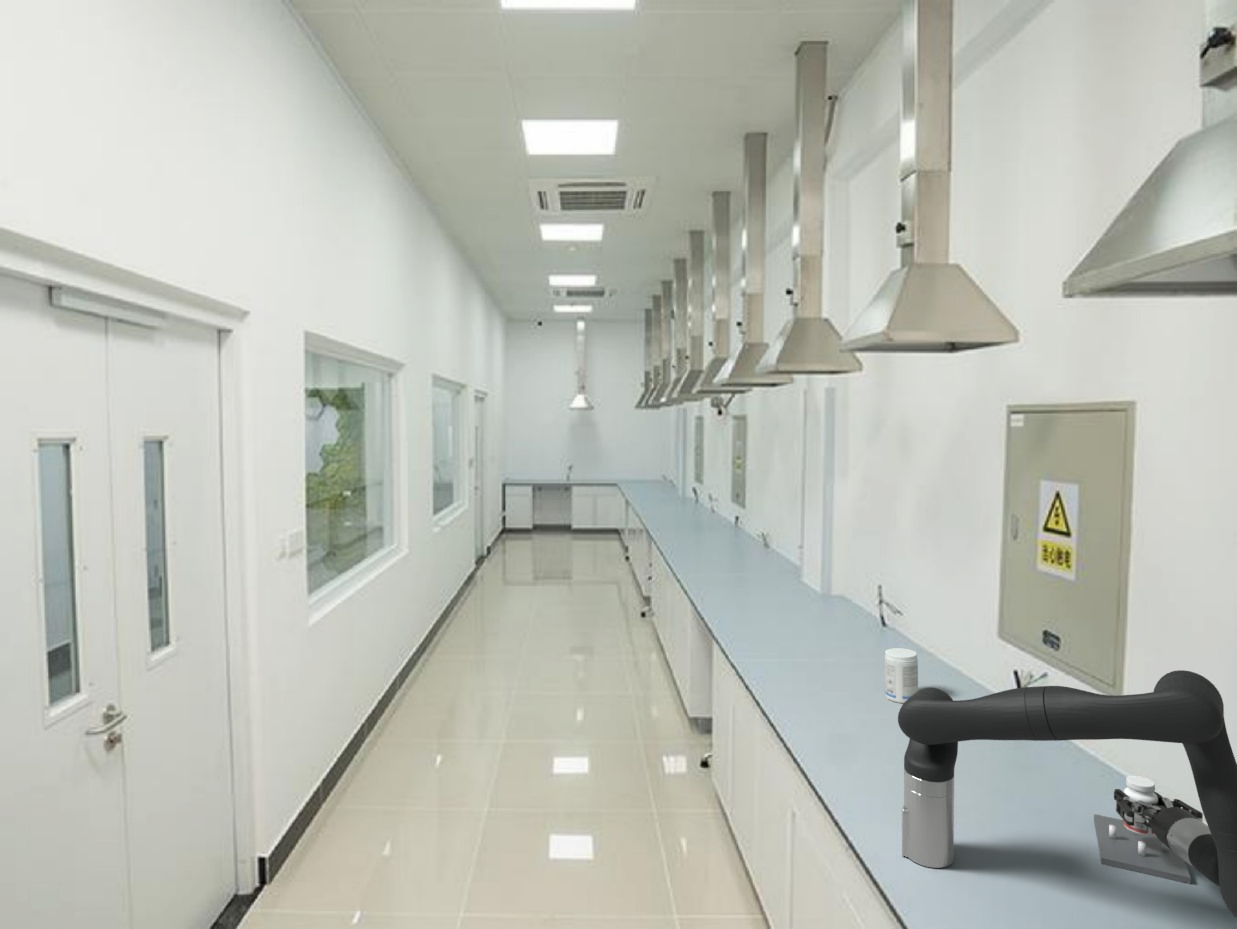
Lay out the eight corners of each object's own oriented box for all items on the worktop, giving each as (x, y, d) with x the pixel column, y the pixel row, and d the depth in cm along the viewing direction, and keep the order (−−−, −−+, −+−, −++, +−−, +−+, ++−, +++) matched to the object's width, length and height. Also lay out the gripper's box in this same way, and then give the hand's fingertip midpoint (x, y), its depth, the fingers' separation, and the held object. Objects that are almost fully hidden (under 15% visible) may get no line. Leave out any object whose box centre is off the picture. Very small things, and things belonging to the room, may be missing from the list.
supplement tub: (918, 695, 234) (918, 649, 233) (917, 706, 225) (917, 658, 224) (885, 691, 238) (885, 646, 237) (883, 701, 229) (883, 655, 228)
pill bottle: (1144, 821, 152) (1144, 773, 151) (1165, 836, 146) (1165, 787, 146) (1116, 822, 152) (1117, 774, 151) (1136, 837, 146) (1137, 788, 146)
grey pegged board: (1101, 863, 145) (1101, 845, 145) (1093, 819, 161) (1094, 802, 160) (1190, 883, 138) (1191, 864, 138) (1173, 835, 154) (1174, 818, 154)
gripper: (1232, 819, 134) (1169, 775, 151) (1149, 818, 135) (1095, 774, 152) (1232, 859, 134) (1169, 811, 151) (1148, 858, 135) (1095, 810, 152)
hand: (1132, 793), depth 151 cm, fingers closed on pill bottle, 5 cm apart
